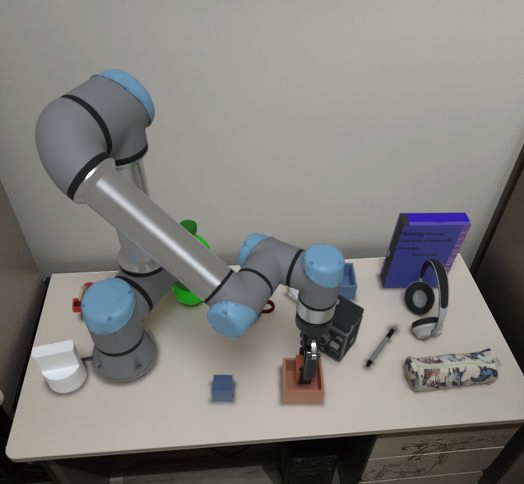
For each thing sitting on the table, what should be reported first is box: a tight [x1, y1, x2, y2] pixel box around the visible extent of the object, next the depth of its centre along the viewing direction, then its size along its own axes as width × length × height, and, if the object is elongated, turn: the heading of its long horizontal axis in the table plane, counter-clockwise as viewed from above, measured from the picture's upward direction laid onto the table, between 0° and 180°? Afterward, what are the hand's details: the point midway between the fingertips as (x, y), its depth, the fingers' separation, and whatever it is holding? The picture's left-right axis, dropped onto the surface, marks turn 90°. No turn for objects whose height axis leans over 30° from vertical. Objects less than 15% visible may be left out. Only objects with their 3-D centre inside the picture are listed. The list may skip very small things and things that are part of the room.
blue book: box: [379, 212, 472, 289], centre depth 134 cm, size 17×5×24 cm, turn 93°
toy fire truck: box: [71, 281, 95, 317], centre depth 129 cm, size 3×14×10 cm, turn 6°
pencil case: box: [403, 347, 503, 392], centre depth 118 cm, size 22×8×10 cm, turn 97°
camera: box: [318, 295, 365, 362], centre depth 122 cm, size 10×10×15 cm
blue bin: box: [339, 262, 358, 301], centre depth 138 cm, size 9×9×5 cm
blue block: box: [211, 374, 234, 402], centre depth 116 cm, size 4×4×4 cm
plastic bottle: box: [172, 219, 211, 306], centre depth 127 cm, size 10×10×25 cm
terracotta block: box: [294, 354, 317, 382], centre depth 113 cm, size 4×4×4 cm
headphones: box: [404, 259, 450, 340], centre depth 126 cm, size 19×8×20 cm, turn 0°
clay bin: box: [281, 357, 326, 404], centre depth 117 cm, size 9×9×5 cm
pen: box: [365, 324, 398, 368], centre depth 127 cm, size 1×16×1 cm, turn 144°
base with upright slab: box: [31, 339, 88, 394], centre depth 114 cm, size 9×9×12 cm
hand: (304, 372), depth 115 cm, fingers closed on terracotta block, 4 cm apart
